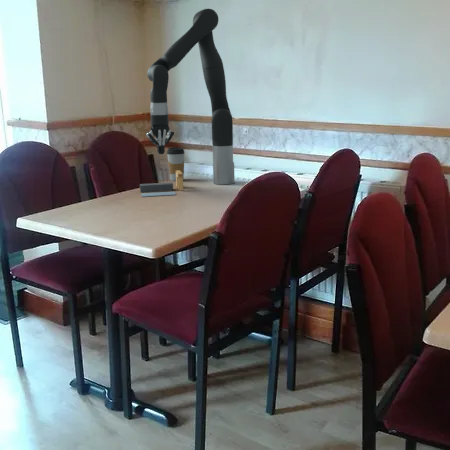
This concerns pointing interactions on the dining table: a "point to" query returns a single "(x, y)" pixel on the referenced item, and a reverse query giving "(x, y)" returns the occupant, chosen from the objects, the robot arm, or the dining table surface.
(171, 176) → the coffee cup
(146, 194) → the light blue panel
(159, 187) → the dark gray rectangular block
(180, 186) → the yellow bent bar
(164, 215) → the dining table surface
